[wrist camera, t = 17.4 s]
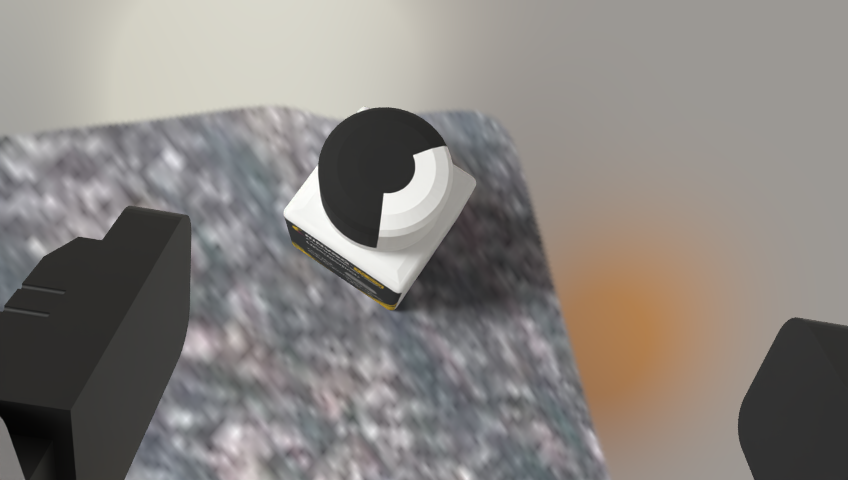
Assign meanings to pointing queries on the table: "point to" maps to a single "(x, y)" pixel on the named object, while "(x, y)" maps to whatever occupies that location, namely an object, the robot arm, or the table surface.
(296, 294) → the table surface
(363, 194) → the medicine bottle
